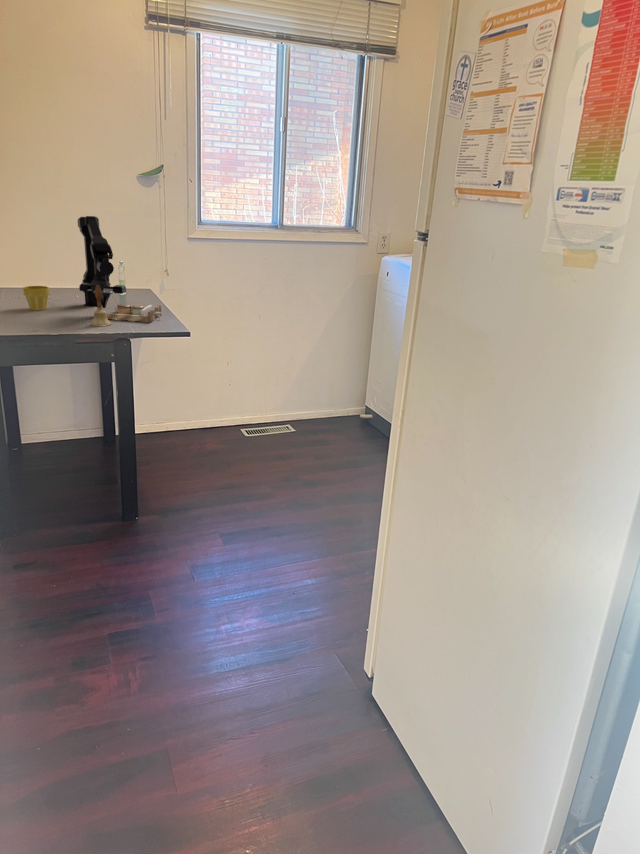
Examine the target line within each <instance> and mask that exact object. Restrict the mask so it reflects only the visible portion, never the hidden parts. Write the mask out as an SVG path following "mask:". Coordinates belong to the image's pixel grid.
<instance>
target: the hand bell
mask: <svg viewBox="0 0 640 854" xmlns="http://www.w3.org/2000/svg"><path fill="white" fill-rule="evenodd" d="M95 297H96V299H97V306H96V308H97V309H96V310H95V311H94V313H93V319H92V321H91V322H90V326H92V325H93V326H92V327H103V326H102V325H109V326H111V325H112V322H111V321H110V320H108V319H107V316H106V313H107V312H106V311H105V310H103V307H102V305H101V298H102V292H101V289H100V286H99V285H96V289H95ZM110 324H111V325H110Z"/></svg>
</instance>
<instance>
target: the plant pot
mask: <svg viewBox="0 0 640 854" xmlns="http://www.w3.org/2000/svg"><path fill="white" fill-rule="evenodd" d="M22 291H23V296H25V297H26V301H27V304H28V307H29V309H30V310H31V311H37V310H39V311H46V310H47V307H48V296H50V289H49V286H46V285H27V286H26V285H25V286H23V290H22Z"/></svg>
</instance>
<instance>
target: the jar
mask: <svg viewBox="0 0 640 854" xmlns="http://www.w3.org/2000/svg"><path fill="white" fill-rule="evenodd" d="M131 306H133V305H132V304H129V303H127V304H126V303H120V304H116V307H117V310H118V313H117V314H126V315H132V312H131Z"/></svg>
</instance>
